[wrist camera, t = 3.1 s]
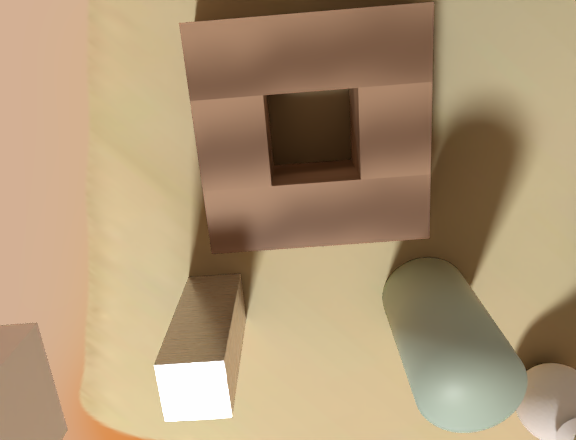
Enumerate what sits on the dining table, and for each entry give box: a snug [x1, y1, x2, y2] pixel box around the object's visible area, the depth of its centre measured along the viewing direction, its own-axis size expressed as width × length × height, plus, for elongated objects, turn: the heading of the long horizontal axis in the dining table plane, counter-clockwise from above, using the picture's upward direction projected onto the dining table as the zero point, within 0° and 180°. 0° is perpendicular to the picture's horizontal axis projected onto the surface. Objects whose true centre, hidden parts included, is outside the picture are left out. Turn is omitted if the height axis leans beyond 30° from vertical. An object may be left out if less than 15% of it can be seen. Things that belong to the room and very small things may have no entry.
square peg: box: [154, 273, 246, 421], centre depth 35 cm, size 4×4×11 cm
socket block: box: [179, 2, 434, 254], centre depth 33 cm, size 14×14×5 cm
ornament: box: [516, 363, 576, 440], centre depth 38 cm, size 6×8×10 cm
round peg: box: [382, 257, 528, 433], centre depth 35 cm, size 6×6×11 cm
